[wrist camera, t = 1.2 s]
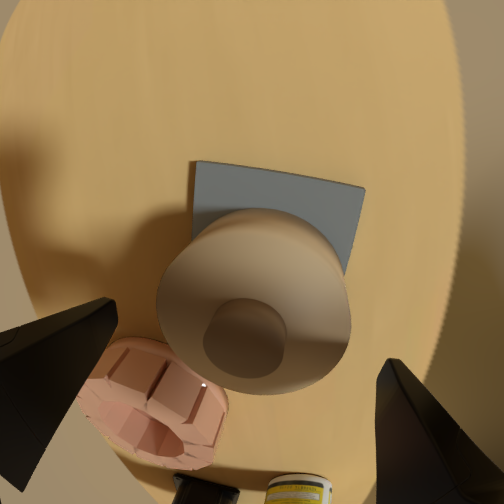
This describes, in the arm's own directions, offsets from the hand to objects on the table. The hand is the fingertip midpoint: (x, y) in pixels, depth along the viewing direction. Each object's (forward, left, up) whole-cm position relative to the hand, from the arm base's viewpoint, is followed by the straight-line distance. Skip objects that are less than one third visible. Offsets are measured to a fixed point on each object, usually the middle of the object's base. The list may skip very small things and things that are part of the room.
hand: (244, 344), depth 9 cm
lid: (0, 0, -3) cm, 3 cm away
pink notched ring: (-9, +5, -4) cm, 11 cm away
